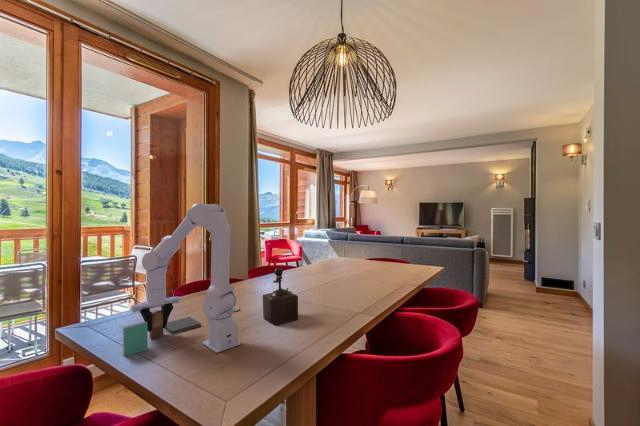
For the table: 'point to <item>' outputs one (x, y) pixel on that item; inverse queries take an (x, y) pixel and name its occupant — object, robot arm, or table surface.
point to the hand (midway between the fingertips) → (156, 328)
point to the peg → (156, 324)
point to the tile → (135, 338)
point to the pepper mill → (280, 304)
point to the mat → (181, 325)
